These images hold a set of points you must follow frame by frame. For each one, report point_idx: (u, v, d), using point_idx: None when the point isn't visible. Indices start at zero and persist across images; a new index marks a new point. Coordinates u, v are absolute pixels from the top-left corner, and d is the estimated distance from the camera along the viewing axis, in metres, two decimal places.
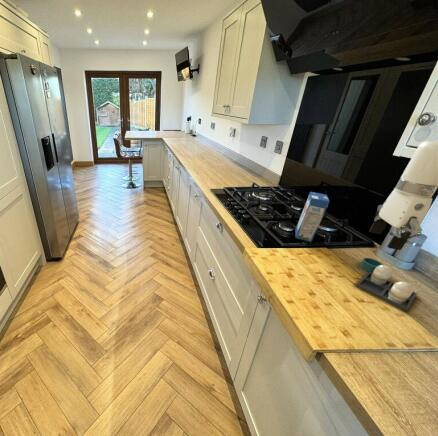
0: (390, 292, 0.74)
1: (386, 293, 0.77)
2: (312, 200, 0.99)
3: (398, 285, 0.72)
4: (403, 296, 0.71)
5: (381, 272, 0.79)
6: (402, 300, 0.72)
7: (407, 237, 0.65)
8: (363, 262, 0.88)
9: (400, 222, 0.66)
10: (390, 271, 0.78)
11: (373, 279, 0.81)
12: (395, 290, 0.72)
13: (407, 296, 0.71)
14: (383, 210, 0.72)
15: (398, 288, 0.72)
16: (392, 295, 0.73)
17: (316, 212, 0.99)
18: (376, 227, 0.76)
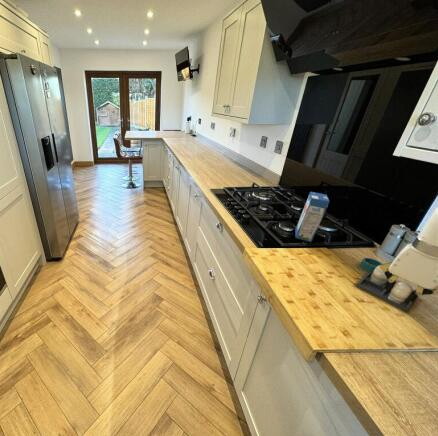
0: (390, 292, 0.74)
1: None
2: (312, 200, 0.99)
3: (398, 285, 0.72)
4: (403, 296, 0.71)
5: (381, 272, 0.79)
6: (402, 300, 0.72)
7: None
8: (363, 262, 0.88)
9: (435, 285, 0.65)
10: None
11: (373, 279, 0.81)
12: (395, 290, 0.72)
13: (407, 296, 0.71)
14: (399, 268, 0.70)
15: (398, 288, 0.72)
16: (392, 295, 0.73)
17: (316, 212, 0.99)
18: None
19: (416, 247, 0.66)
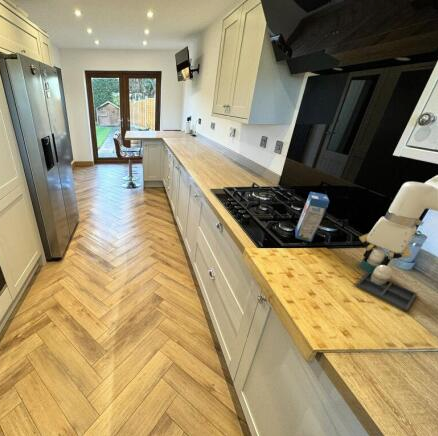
0: (368, 258, 0.88)
1: (386, 293, 0.77)
2: (312, 200, 0.99)
3: (374, 252, 0.86)
4: (378, 261, 0.85)
5: (381, 272, 0.79)
6: (378, 264, 0.85)
7: None
8: (363, 262, 0.88)
9: (402, 249, 0.79)
10: (390, 271, 0.78)
11: (373, 279, 0.81)
12: (372, 256, 0.86)
13: (381, 261, 0.85)
14: (374, 237, 0.84)
15: (374, 254, 0.85)
16: (369, 260, 0.87)
17: (316, 212, 0.99)
18: None
19: (387, 218, 0.80)
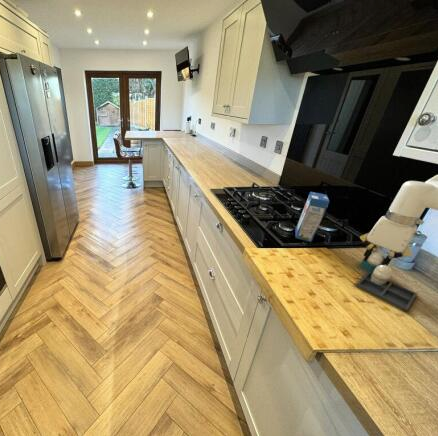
0: (366, 261, 0.88)
1: (386, 293, 0.77)
2: (312, 200, 0.99)
3: (372, 255, 0.86)
4: (376, 263, 0.85)
5: (381, 272, 0.79)
6: None
7: None
8: (363, 262, 0.88)
9: (403, 248, 0.79)
10: (390, 271, 0.78)
11: (373, 279, 0.81)
12: (370, 259, 0.87)
13: (380, 263, 0.85)
14: (374, 236, 0.84)
15: (372, 257, 0.86)
16: None
17: (316, 212, 0.99)
18: (369, 254, 0.88)
19: (387, 217, 0.80)
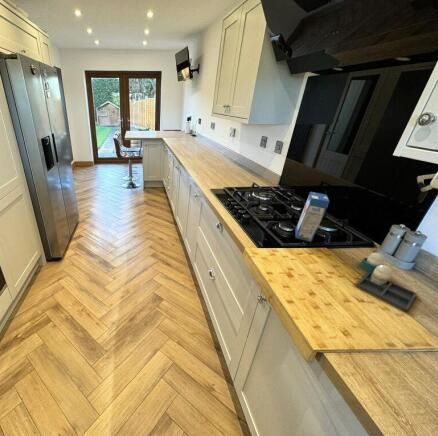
0: None
1: (386, 293, 0.77)
2: (312, 200, 0.99)
3: (372, 255, 0.86)
4: (376, 264, 0.86)
5: (381, 272, 0.79)
6: None
7: None
8: (363, 262, 0.88)
9: None
10: (390, 271, 0.78)
11: (373, 279, 0.81)
12: (370, 260, 0.87)
13: (379, 264, 0.85)
14: None
15: (372, 258, 0.86)
16: None
17: (316, 212, 0.99)
18: (424, 197, 0.81)
19: None
